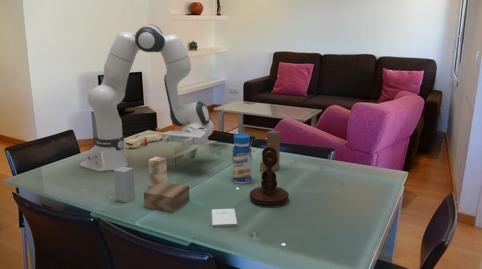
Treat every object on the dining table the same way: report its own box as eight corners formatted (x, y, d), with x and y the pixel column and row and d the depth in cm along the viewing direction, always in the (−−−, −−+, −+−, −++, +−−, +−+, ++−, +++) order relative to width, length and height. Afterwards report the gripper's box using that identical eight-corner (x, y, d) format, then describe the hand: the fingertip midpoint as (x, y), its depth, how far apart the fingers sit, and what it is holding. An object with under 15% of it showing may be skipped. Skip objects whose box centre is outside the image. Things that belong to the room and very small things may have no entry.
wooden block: (267, 173, 191) (268, 134, 187) (259, 171, 194) (260, 133, 190) (279, 169, 198) (280, 131, 194) (271, 167, 201) (272, 129, 197)
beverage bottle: (254, 179, 185) (255, 134, 180) (246, 185, 177) (247, 138, 172) (237, 176, 188) (237, 132, 183) (228, 182, 181) (228, 136, 176)
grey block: (115, 200, 161) (113, 170, 159) (124, 195, 166) (122, 166, 163) (126, 202, 159) (124, 172, 157) (134, 197, 164) (133, 168, 161)
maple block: (149, 188, 174) (148, 159, 171) (157, 184, 178) (155, 156, 176) (160, 189, 172) (158, 161, 169) (167, 185, 176) (166, 158, 174)
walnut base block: (144, 208, 155) (143, 192, 154) (161, 196, 166) (161, 181, 165) (173, 213, 151) (173, 197, 150) (189, 200, 162) (189, 185, 160)
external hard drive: (212, 229, 140) (211, 213, 152) (237, 228, 140) (234, 212, 152) (212, 224, 139) (211, 209, 151) (237, 223, 140) (234, 208, 152)
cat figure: (153, 141, 253) (120, 147, 232) (153, 126, 251) (120, 131, 231) (165, 143, 248) (133, 149, 227) (165, 128, 246) (133, 133, 225)
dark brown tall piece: (249, 192, 170) (249, 143, 165) (286, 192, 169) (288, 144, 164) (249, 207, 155) (249, 154, 150) (289, 208, 155) (291, 155, 150)
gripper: (171, 126, 198) (153, 132, 185) (210, 129, 189) (194, 136, 177) (172, 139, 199) (154, 146, 187) (210, 143, 191) (195, 151, 179)
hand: (174, 141), depth 182 cm, fingers open, 8 cm apart
